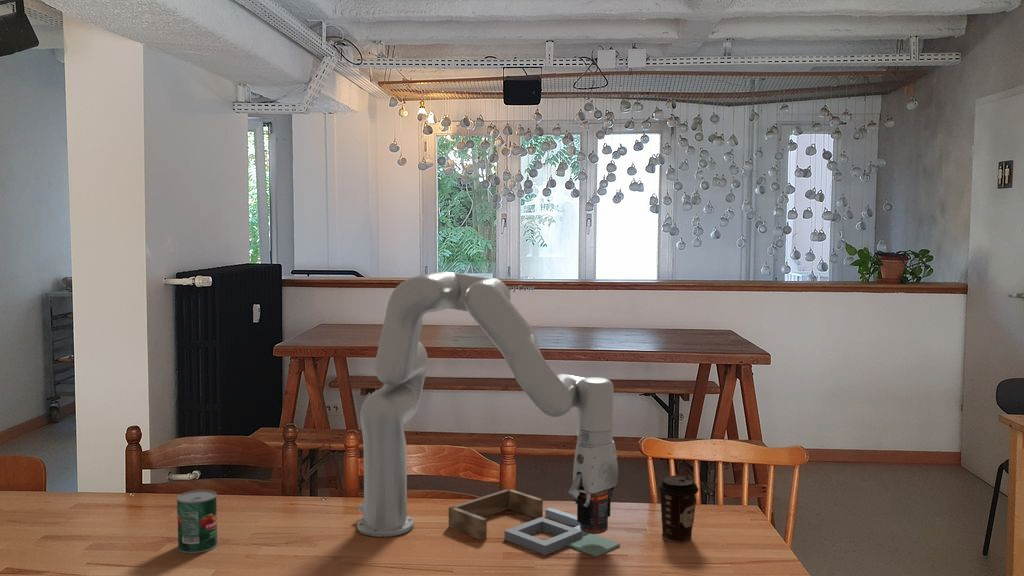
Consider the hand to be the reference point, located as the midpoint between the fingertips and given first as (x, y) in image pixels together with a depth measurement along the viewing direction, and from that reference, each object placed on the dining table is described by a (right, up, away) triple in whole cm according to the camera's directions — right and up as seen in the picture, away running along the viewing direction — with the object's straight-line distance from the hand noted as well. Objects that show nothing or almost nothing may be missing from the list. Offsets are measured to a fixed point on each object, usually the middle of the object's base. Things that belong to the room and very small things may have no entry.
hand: (593, 518), depth 177 cm
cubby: (-21, -5, +14) cm, 25 cm away
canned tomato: (-84, -6, -1) cm, 84 cm away
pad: (0, -6, +1) cm, 6 cm away
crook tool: (-6, -5, +12) cm, 14 cm away
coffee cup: (+19, -6, +6) cm, 21 cm away
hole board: (-11, -6, +4) cm, 13 cm away
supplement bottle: (0, -3, 0) cm, 3 cm away
